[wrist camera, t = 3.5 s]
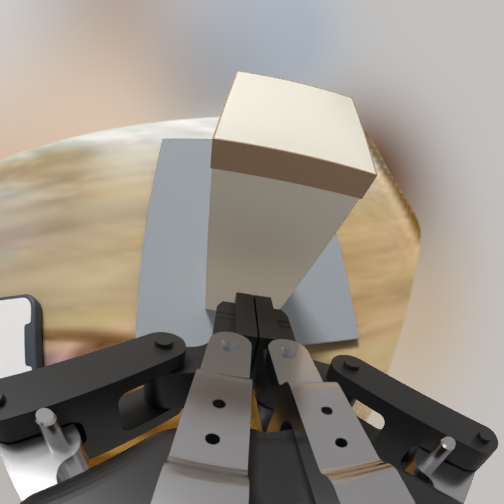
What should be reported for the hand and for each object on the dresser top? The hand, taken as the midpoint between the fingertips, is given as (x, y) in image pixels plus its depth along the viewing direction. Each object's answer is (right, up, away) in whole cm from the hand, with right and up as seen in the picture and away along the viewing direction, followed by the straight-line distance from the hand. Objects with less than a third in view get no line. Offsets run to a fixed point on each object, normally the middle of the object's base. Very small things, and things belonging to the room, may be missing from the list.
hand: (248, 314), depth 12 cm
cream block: (-1, 0, +10) cm, 10 cm away
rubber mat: (-1, +5, +13) cm, 14 cm away
